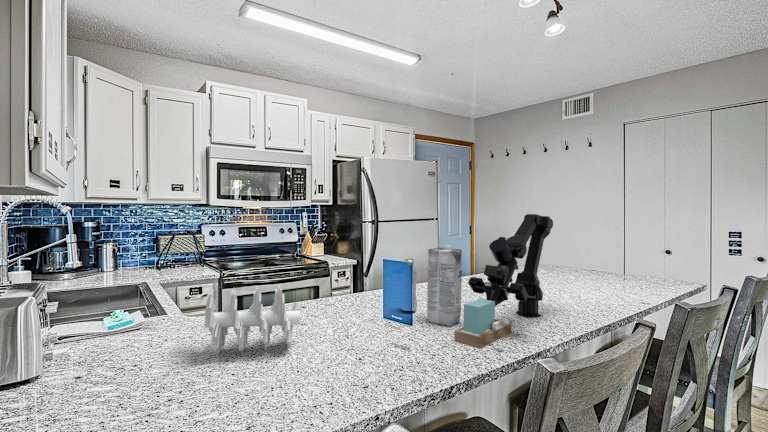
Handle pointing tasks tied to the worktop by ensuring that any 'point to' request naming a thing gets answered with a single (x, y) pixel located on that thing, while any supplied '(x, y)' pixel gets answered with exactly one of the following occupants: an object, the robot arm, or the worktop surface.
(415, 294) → the plastic bottle
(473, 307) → the teal block
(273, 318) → the white sculpted piece
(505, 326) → the brown tray
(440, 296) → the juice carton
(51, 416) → the worktop surface
